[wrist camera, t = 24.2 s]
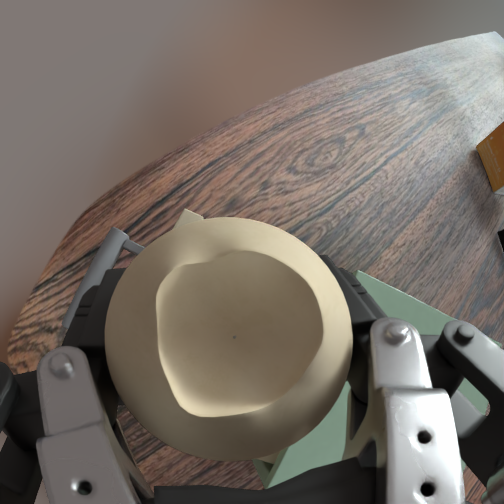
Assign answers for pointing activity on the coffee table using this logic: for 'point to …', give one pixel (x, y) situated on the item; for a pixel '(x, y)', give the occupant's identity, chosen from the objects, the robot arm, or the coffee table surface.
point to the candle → (228, 339)
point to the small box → (494, 158)
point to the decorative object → (501, 238)
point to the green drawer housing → (334, 424)
